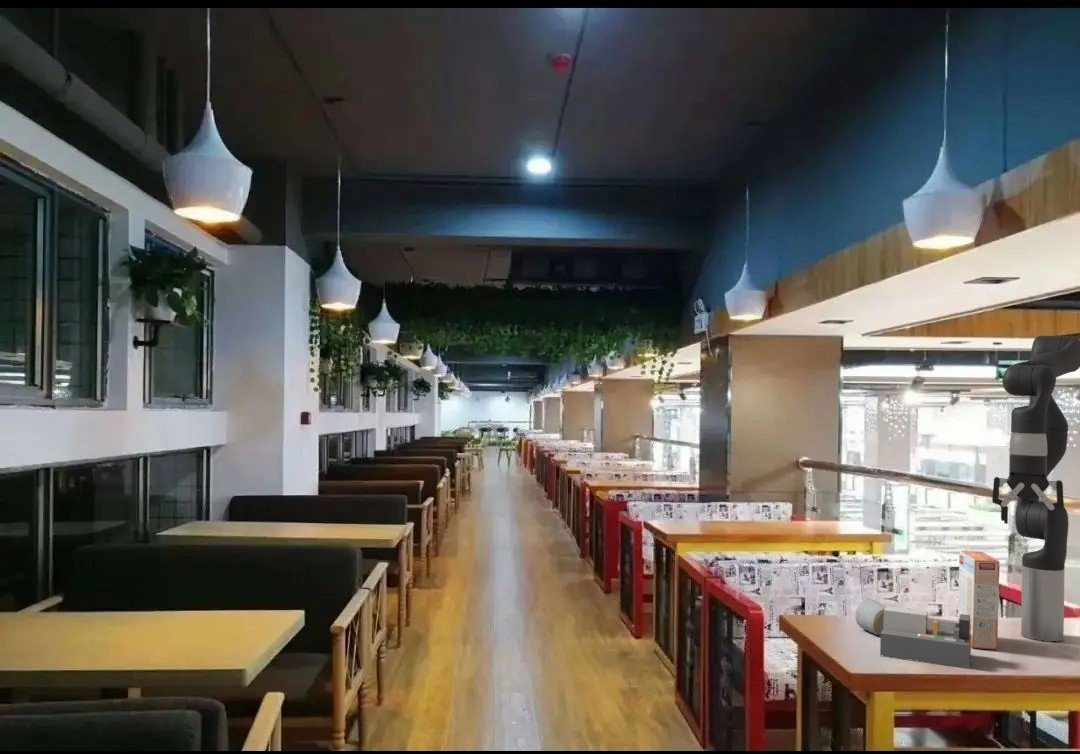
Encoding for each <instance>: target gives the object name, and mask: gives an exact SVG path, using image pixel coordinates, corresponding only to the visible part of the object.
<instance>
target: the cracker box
mask: <svg viewBox="0 0 1080 754" xmlns="http://www.w3.org/2000/svg"><path fill="white" fill-rule="evenodd" d="M958 560H959V564H958V565H959V566H958V602H957V603H958V609H957V613H958V614H957V621H959V618H960V614H964V615H970V633H971V649H981V650H991V651H993V650H995V651H998V641H999V640H998V637H999V636H998V635H999V634H998V632H999V631H998V630H999V604H1000V603H999V602H1000V601H999V595H1000V591H999V590H1000V561H999V560H998V559H996V558H994V557H992V556H990V555H988V554H987V553H985V552H983V551H978V550H977V551H976V550H975V551H974V550H960V551H959V559H958Z"/></svg>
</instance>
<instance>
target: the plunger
mask: <svg viewBox="0 0 1080 754" xmlns="http://www.w3.org/2000/svg"><path fill="white" fill-rule="evenodd" d="M933 621H937V630H944V631H952V632H954V639H956V640H959V638H965V639H969V635H970V615H964V614H960V618H959V621H958V620H949V619H940V618H934V617H933V618H932V617H928V618H926V628H928V629H933Z"/></svg>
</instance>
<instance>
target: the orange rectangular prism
mask: <svg viewBox="0 0 1080 754" xmlns="http://www.w3.org/2000/svg"><path fill="white" fill-rule="evenodd" d="M933 636H937V621H933Z"/></svg>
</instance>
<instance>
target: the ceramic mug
mask: <svg viewBox="0 0 1080 754" xmlns="http://www.w3.org/2000/svg"><path fill="white" fill-rule="evenodd" d="M885 607H886V605H884V604H882V603H880V602H878V601H877V600H875V599H870V598H868V599H865V600H863V601H861V602H860V603H859V604H858V606H857V608H856V610H855V615H854V616H855V621H856V624H857V625H858V626H859V627H860V628H861V629H863V630H865V631H868V632H869V633H871V634H874V635H876V636H878V635H879V637H881V632H882V630H883V626H884V609H885Z"/></svg>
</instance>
